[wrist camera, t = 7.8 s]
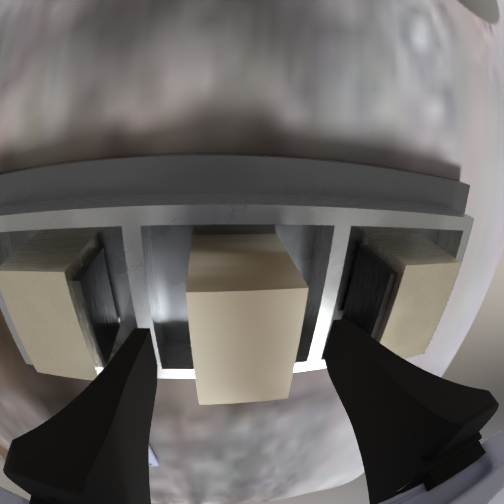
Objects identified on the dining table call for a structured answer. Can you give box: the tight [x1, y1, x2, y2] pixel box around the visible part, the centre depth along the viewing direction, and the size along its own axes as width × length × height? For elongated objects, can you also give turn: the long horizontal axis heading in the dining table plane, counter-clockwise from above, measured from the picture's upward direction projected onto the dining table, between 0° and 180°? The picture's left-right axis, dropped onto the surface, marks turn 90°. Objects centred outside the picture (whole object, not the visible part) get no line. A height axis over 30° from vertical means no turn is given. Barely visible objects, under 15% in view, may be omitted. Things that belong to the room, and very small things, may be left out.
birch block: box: [186, 234, 309, 405], centre depth 13 cm, size 4×6×5 cm, turn 177°
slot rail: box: [0, 153, 474, 380], centre depth 14 cm, size 30×13×5 cm, turn 87°
